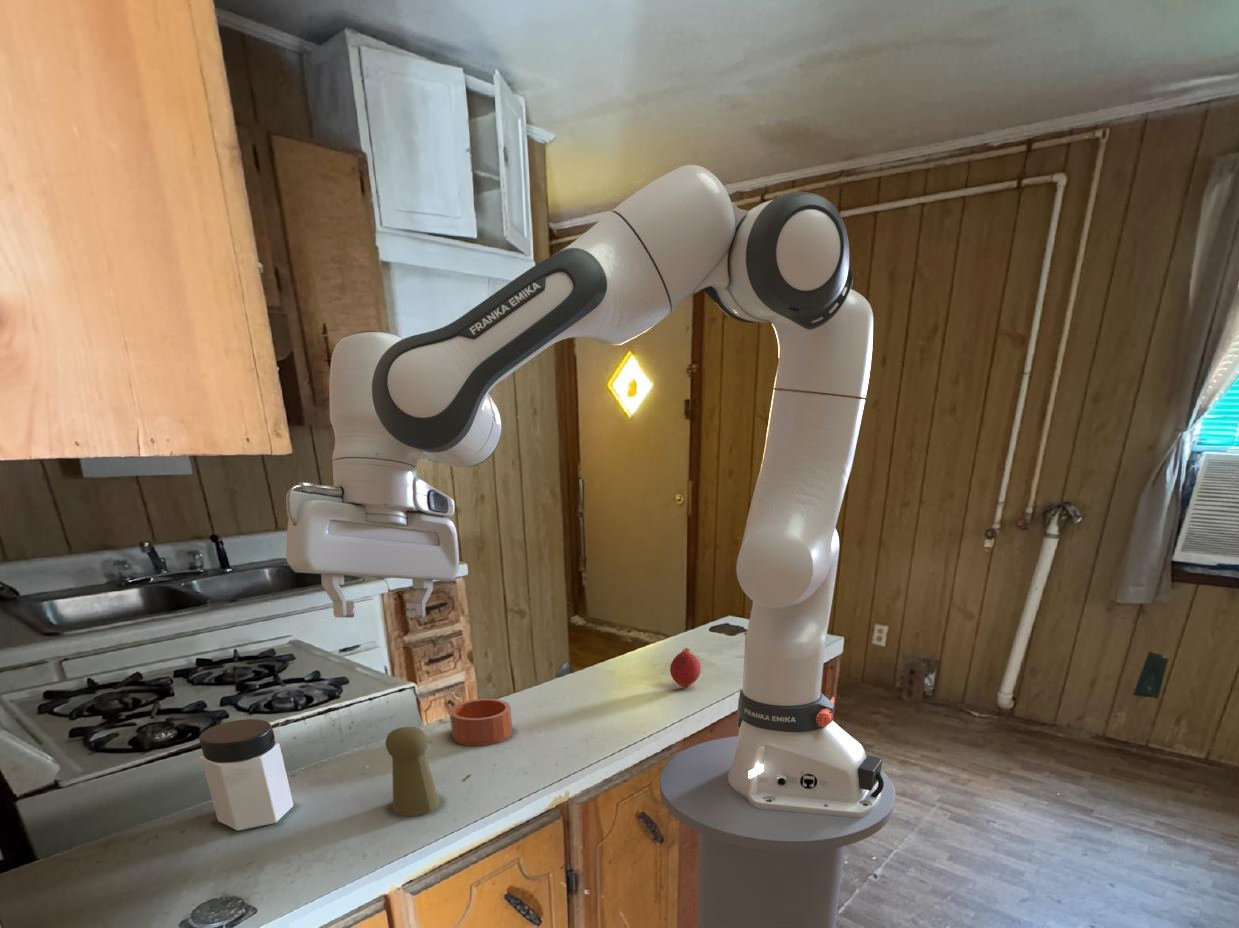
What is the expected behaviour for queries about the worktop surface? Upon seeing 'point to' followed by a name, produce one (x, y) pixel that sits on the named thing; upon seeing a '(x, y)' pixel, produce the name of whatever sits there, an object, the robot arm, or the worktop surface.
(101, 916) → the worktop surface
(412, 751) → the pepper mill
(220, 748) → the jar
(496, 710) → the bowl
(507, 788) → the worktop surface
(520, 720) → the worktop surface
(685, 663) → the pomegranate
